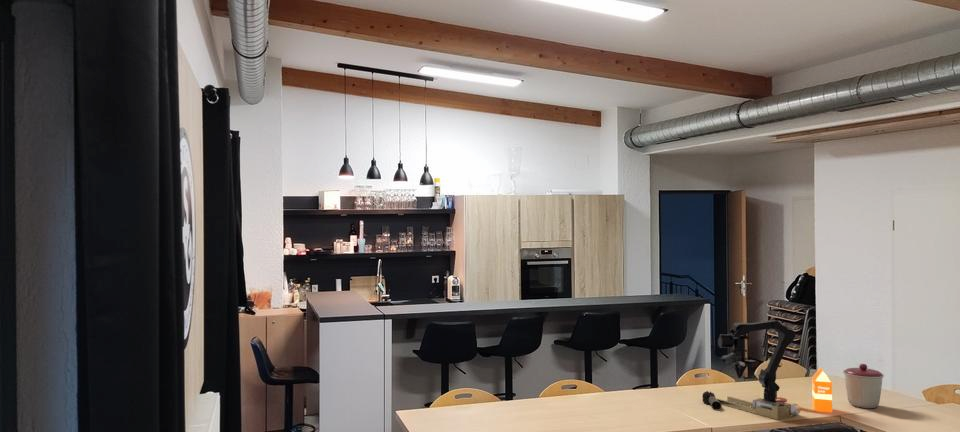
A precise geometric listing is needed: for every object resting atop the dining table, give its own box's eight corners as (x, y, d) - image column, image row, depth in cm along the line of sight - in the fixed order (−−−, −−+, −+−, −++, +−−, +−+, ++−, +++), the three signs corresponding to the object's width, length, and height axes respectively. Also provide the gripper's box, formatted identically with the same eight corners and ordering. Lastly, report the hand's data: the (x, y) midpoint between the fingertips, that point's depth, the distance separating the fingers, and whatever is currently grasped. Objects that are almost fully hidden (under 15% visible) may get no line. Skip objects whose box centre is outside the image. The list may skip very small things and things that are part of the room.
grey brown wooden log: (721, 410, 335) (721, 398, 335) (707, 409, 335) (707, 398, 335) (713, 400, 352) (713, 389, 352) (700, 400, 353) (700, 389, 353)
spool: (759, 410, 334) (759, 398, 334) (778, 414, 326) (778, 402, 326) (753, 411, 330) (752, 400, 331) (772, 416, 322) (772, 404, 322)
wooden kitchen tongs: (736, 398, 355) (736, 381, 355) (800, 415, 324) (800, 397, 324) (716, 403, 347) (716, 385, 347) (779, 420, 316) (779, 401, 316)
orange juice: (829, 407, 338) (829, 367, 338) (832, 412, 329) (832, 371, 330) (812, 406, 340) (811, 366, 341) (814, 411, 332) (814, 370, 332)
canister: (888, 405, 342) (888, 363, 342) (879, 412, 329) (879, 369, 329) (848, 399, 354) (848, 358, 354) (838, 406, 341) (838, 364, 341)
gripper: (714, 346, 354) (714, 376, 354) (744, 352, 338) (744, 383, 338) (728, 344, 360) (728, 373, 360) (759, 350, 344) (759, 380, 344)
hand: (739, 377), depth 350 cm, fingers closed
